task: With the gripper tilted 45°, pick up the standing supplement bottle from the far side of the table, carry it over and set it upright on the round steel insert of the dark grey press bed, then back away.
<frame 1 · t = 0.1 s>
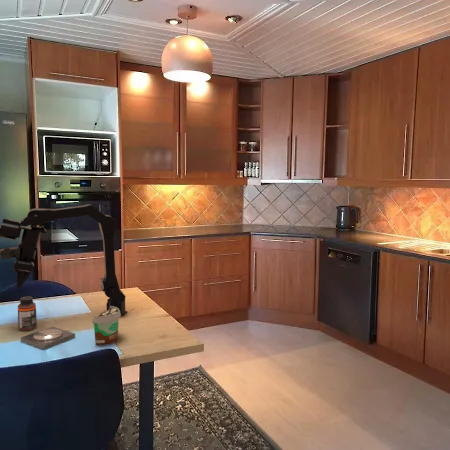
hand: (18, 284, 148), 15 cm above the table, tool pointing down, fingers open, 9 cm apart
press bed: (48, 339, 137), on the table
food container: (110, 341, 137), on the table
supplement bottle: (27, 328, 147), on the table
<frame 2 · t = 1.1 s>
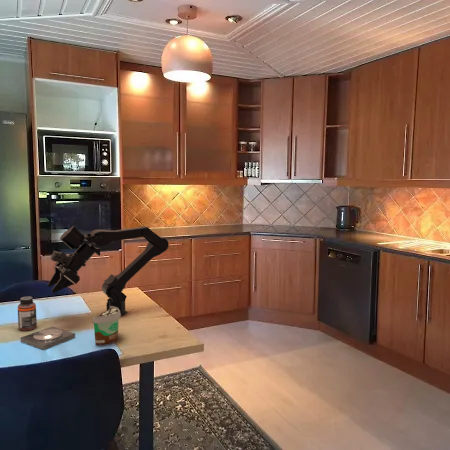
hand: (50, 289, 150), 13 cm above the table, tool tilted 45°, fingers open, 9 cm apart
nothing on the table moved.
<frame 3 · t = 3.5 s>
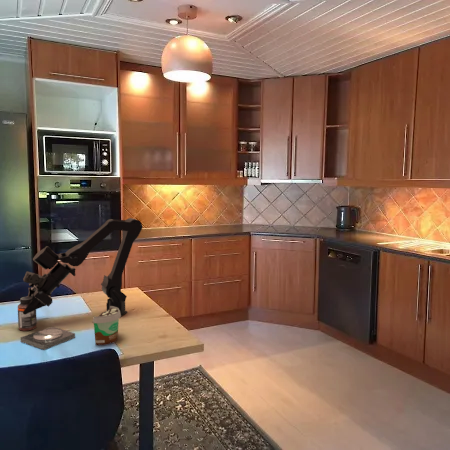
hand: (22, 311, 145), 7 cm above the table, tool tilted 45°, fingers closed on supplement bottle, 6 cm apart
supplement bottle: (27, 328, 147), on the table, touching gripper
everything else where it was.
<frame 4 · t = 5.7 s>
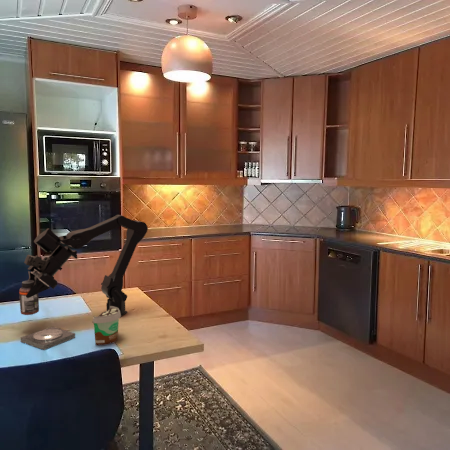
hand: (24, 295, 142), 13 cm above the table, tool tilted 45°, fingers closed on supplement bottle, 6 cm apart
supplement bottle: (29, 313, 144), point 6 cm above the table, touching gripper
everything else where it was.
when the fingers open (9 cm above the table, at t = 8.0 s): supplement bottle stays where it is, resting on press bed.
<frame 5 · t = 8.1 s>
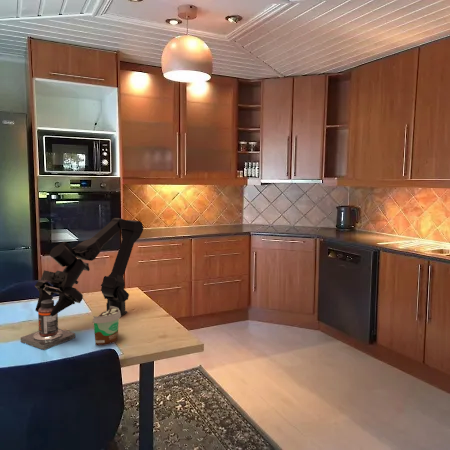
hand: (43, 313, 135), 10 cm above the table, tool tilted 45°, fingers open, 7 cm apart
supplement bottle: (48, 334, 137), point 2 cm above the table, touching press bed
everything else where it was.
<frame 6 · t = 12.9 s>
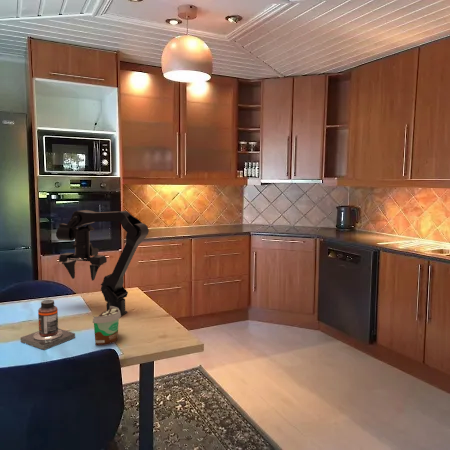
hand: (83, 279, 166), 13 cm above the table, tool pointing down, fingers open, 9 cm apart
nothing on the table moved.
at the end: supplement bottle inside the target area on the press bed (0.1 cm from its centre), point 1.8 cm above the press bed's base; supplement bottle tilted 0°; the gripper is holding nothing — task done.
